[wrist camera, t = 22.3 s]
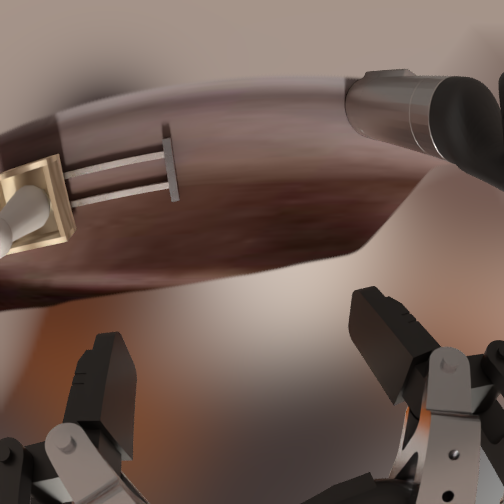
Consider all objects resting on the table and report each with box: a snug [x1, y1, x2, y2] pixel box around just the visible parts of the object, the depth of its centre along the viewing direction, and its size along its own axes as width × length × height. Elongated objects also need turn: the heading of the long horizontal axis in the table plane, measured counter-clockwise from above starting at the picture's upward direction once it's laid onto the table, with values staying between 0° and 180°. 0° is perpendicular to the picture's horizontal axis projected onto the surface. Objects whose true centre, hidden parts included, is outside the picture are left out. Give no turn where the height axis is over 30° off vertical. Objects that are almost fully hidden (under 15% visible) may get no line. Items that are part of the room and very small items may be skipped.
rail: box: [63, 137, 180, 208], centre depth 35 cm, size 28×9×2 cm, turn 94°
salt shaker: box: [0, 185, 51, 258], centre depth 27 cm, size 6×6×13 cm
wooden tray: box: [0, 154, 77, 255], centre depth 33 cm, size 10×10×5 cm
